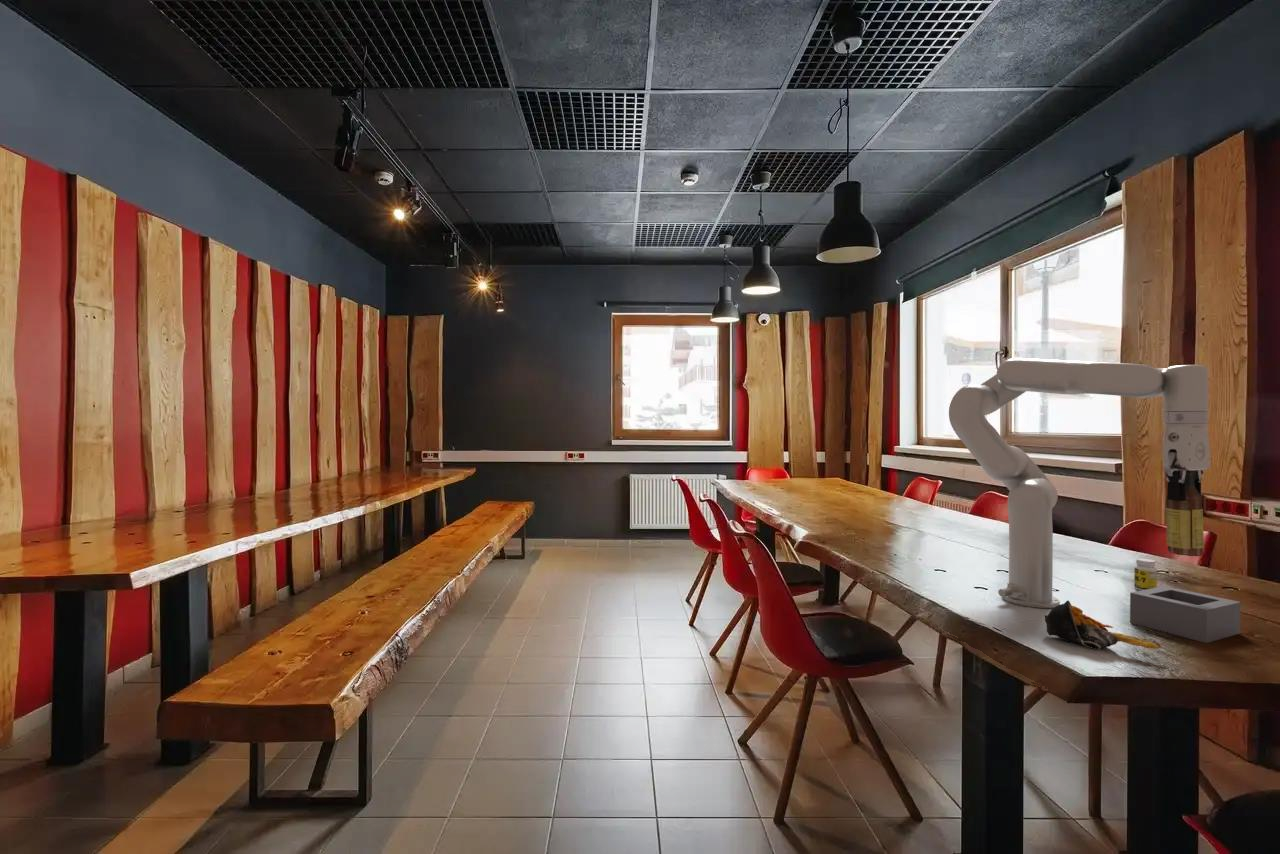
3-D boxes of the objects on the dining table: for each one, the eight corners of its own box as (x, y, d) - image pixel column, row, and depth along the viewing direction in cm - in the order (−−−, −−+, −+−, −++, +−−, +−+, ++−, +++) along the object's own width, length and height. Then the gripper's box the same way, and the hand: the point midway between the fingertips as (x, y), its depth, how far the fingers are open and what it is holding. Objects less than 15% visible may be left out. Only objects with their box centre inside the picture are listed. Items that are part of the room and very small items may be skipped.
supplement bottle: (1129, 587, 168) (1130, 558, 168) (1145, 587, 168) (1145, 557, 168) (1145, 592, 163) (1145, 562, 163) (1161, 592, 164) (1161, 561, 164)
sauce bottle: (1196, 552, 137) (1198, 466, 137) (1209, 558, 131) (1211, 468, 131) (1160, 550, 140) (1161, 465, 140) (1171, 555, 134) (1173, 466, 134)
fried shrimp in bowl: (1042, 607, 135) (1140, 595, 125) (1059, 659, 130) (1163, 651, 120) (1034, 601, 129) (1137, 587, 119) (1052, 655, 124) (1161, 645, 114)
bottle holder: (1206, 643, 126) (1206, 610, 126) (1130, 622, 139) (1130, 592, 139) (1240, 633, 132) (1240, 602, 132) (1163, 614, 145) (1164, 585, 144)
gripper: (1185, 419, 128) (1184, 503, 128) (1226, 420, 135) (1224, 499, 135) (1144, 419, 135) (1143, 499, 135) (1185, 419, 142) (1183, 495, 142)
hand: (1184, 498), depth 135 cm, fingers closed on sauce bottle, 5 cm apart
